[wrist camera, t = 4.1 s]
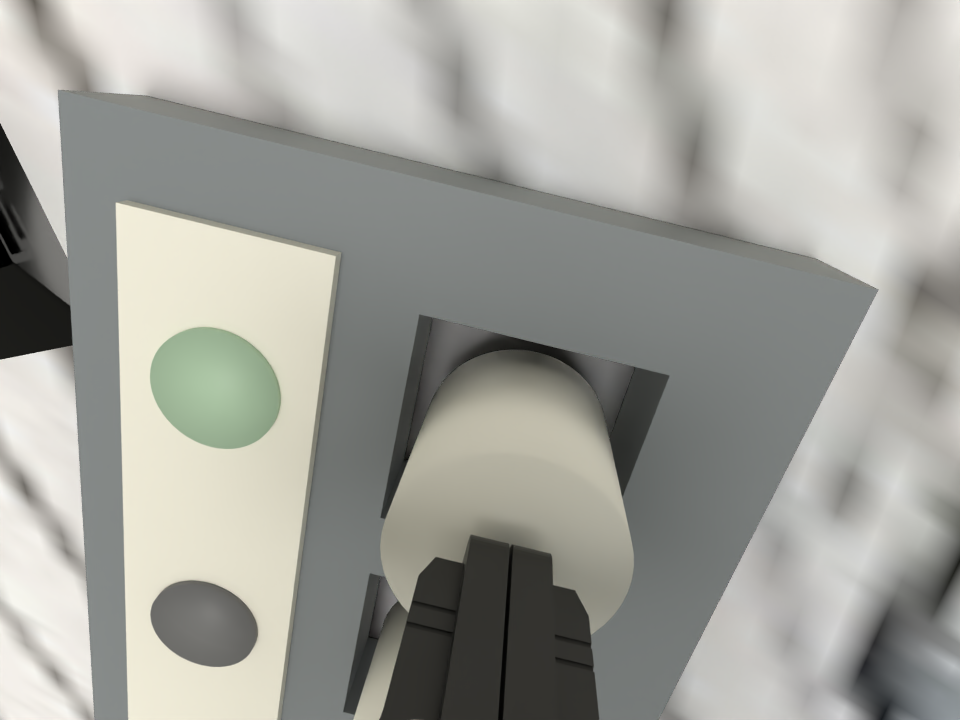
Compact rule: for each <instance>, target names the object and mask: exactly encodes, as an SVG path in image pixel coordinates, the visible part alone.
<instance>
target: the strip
mask: <svg viewBox="0 0 960 720" xmlns="http://www.w3.org/2000/svg"><path fill="white" fill-rule="evenodd" d="M116 237H117V278H118V319H119V361H120V402H121V443H122V485H123V526H124V568H125V609H126V650H127V692H128V720H281V714H282V706H283V698H284V691H285V683H286V675H287V667H288V660H289V652H290V644H291V637H292V629H293V621H294V614H295V606H296V598H297V590H298V583H299V575H300V567H301V560H302V552H303V544H304V537H305V529H306V521H307V514H308V506H309V498H310V490H311V483H312V475H313V467H314V460H315V452H316V444H317V437H318V429H319V421H320V413H321V406H322V398H323V390H324V383H325V375H326V367H327V360H328V352H329V344H330V337H331V329H332V321H333V313H334V306H335V298H336V290H337V283H338V275H339V267H340V260H341V252H337V251H333V250H329V249H325V248H321V247H317V246H313V245H309V244H305V243H301V242H297V241H292V240H288V239H284V238H280V237H276V236H272V235H268V234H264V233H260V232H256V231H251V230H247V229H243V228H239V227H235V226H231V225H227V224H223V223H219V222H215V221H211V220H206V219H202V218H198V217H194V216H190V215H186V214H182V213H178V212H174V211H170V210H165V209H161V208H157V207H153V206H149V205H145V204H141V203H137V202H133V201H129V200H126V201H121V202H116Z"/></svg>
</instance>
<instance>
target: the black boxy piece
mask: <svg viewBox="0 0 960 720" xmlns="http://www.w3.org/2000/svg"><path fill="white" fill-rule="evenodd" d="M71 345H73V340H72V323H71V306H70V289H69V272H68V259H67V257H66V255H65V253H64V251H63V249H62V247H61V245H60V243H59V241H58V239H57V237H56V235H55V233H54V231H53V229H52V227H51V225H50V223H49V221H48V219H47V217H46V215H45V213H44V211H43V209H42V207H41V205H40V203H39V200H38V198H37V196H36V194H35V192H34V190H33V188H32V186H31V184H30V182H29V180H28V178H27V176H26V174H25V172H24V170H23V168H22V166H21V164H20V162H19V160H18V158H17V156H16V154H15V152H14V150H13V148H12V146H11V144H10V142H9V140H8V138H7V136H6V134H5V132H4V130H3V128H2V126H1V124H0V359H5V358H10V357H15V356H21V355H26V354H31V353H36V352H41V351H46V350H51V349H56V348H61V347H66V346H71Z"/></svg>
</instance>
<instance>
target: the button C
mask: <svg viewBox="0 0 960 720" xmlns="http://www.w3.org/2000/svg"><path fill="white" fill-rule="evenodd" d="M470 535H475V536H479V537H483V538H488V539H492V540H496V541H500V542H504V543H508V544H509V547H510V546H511V545H512V544H513V545H517V546H521V547H526V548H530V549H534V550H538V551H542V552H546V553H550V554H551V555H552V564H553V585H555V586H559V587H564V588H568V589H572V590H575V591H576V593H577V595H578V597H579V599H580V601H581V602H582V604H583V606H584V608H585V610H586V612H587V614H588V615H589V622H590V632H591V635H592V634H593V633H594V632H596V631H597V630H598V629H600V628H601V627H602V626H603V625H605V623H606V622H607V621H608V620H609V619H610V618H611V617H612V616H613V615H614V614H615V613H616V611H617V610H618V609H619V607H620V606H621V604H622V603H623V601H624V599H625V597H626V595H627V593H628V590H629V587H630V584H631V581H632V576H633V569H634V552H633V546H632V541H631V536H630V531H629V527H628V522H627V518H626V513H625V508H624V504H623V499H622V495H621V490H620V485H619V481H618V476H617V472H616V467H615V462H614V458H613V453H612V449H611V444H610V439H609V435H608V430H607V426H606V421H605V416H604V412H603V409H602V406H601V403H600V401H599V399H598V397H597V395H596V393H595V392H594V390H593V389H592V388H591V386H590V385H589V383H588V382H587V381H586V380H585V379H584V378H583V377H582V376H581V375H580V374H579V373H577V372H576V371H575V370H574V369H572V368H571V367H570V366H568V365H566V364H565V363H563V362H561V361H559V360H557V359H555V358H553V357H551V356H548V355H545V354H541V353H538V352H533V351H527V350H500V351H495V352H490V353H486V354H483V355H480V356H477V357H475V358H473V359H471V360H469V361H467V362H465V363H464V364H462V365H461V366H459V367H458V368H456V369H455V370H454V371H453V372H452V373H450V374H449V375H448V376H447V378H446V379H445V380H444V381H443V382H442V383H441V385H440V386H439V388H438V389H437V391H436V393H435V395H434V397H433V399H432V401H431V404H430V406H429V409H428V411H427V414H426V416H425V419H424V422H423V424H422V427H421V429H420V432H419V434H418V437H417V439H416V442H415V445H414V447H413V450H412V452H411V455H410V457H409V460H408V463H407V465H406V468H405V470H404V473H403V475H402V478H401V480H400V483H399V486H398V488H397V491H396V493H395V496H394V498H393V501H392V503H391V506H390V509H389V511H388V514H387V516H386V519H385V522H384V526H383V529H382V534H381V543H380V551H381V561H382V566H383V571H384V574H385V576H386V579H387V582H388V584H389V586H390V588H391V590H392V591H393V593H394V595H395V597H396V598H397V599H398V601H399V602H400V603H401V605H402V606H403V607H404V608H405V610H406V611H407V612H408V613H409V610H410V606H411V602H412V598H413V595H414V591H415V587H416V583H417V579H418V576H419V574H420V573H421V572H422V571H423V570H424V569H425V568H426V567H427V566H428V565H429V563H430V562H431V561H432V560H433V559H434V558H435V557H439V558H443V559H447V560H451V561H455V562H459V563H462V562H463V559H464V555H465V551H466V547H467V544H468V540H469V537H470Z"/></svg>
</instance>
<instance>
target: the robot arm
mask: <svg viewBox="0 0 960 720" xmlns="http://www.w3.org/2000/svg"><path fill="white" fill-rule="evenodd" d="M591 644H592V642H591V632H590V622H589V615H588V614H587V612H586V610H585V608H584V606H583V604H582V602H581V601H580V599H579V597H578V595H577V593H576V591H575V590H572V589H568V588H564V587H559V586H555V585H553V564H552V555H551V554H550V553H546V552H542V551H538V550H534V549H530V548H526V547H521V546H517V545H513V544H512V545H511V546H510V547H509V544H508V543H504V542H500V541H496V540H492V539H488V538H483V537H479V536H475V535H470V537H469V540H468V544H467V547H466V551H465V555H464V559H463V562H462V563H459V562H455V561H451V560H447V559H443V558H439V557H435V558H434V559H433V560H432V561H431V562H430V563H429V565H428V566H427V567H426V568H425V569H424V570H423V571H422V572H421V573H420V574H419V576H418V579H417V583H416V587H415V591H414V595H413V598H412V602H411V606H410V610H409V613H408V617H407V621H406V625H405V629H404V632H403V636H402V640H401V644H400V648H399V651H398V655H397V659H396V663H395V666H394V670H393V674H392V678H391V682H390V685H389V689H388V693H387V697H386V701H385V704H384V708H383V711H382V714H381V717H380V719H379V720H599V711H598V701H597V691H596V681H595V672H593V668H594V662H593V652H592V649H591Z"/></svg>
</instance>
